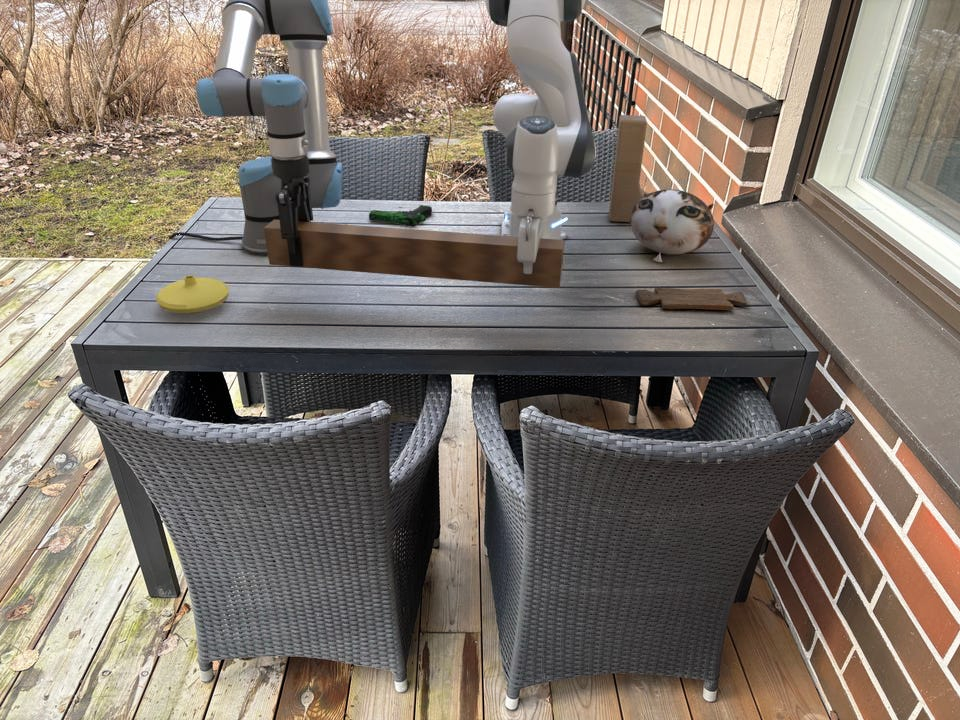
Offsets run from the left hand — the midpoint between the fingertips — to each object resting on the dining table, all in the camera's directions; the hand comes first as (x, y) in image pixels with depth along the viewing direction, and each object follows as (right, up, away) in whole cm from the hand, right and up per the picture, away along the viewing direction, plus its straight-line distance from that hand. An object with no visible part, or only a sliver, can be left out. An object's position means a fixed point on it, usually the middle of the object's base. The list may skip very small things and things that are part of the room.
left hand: (301, 260), depth 159 cm
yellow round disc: (-26, -10, +5) cm, 28 cm away
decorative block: (+87, +21, +60) cm, 107 cm away
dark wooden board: (+90, -9, +11) cm, 91 cm away
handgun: (+16, +21, +58) cm, 64 cm away
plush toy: (+91, +7, +37) cm, 98 cm away
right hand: (+50, -2, -8) cm, 51 cm away
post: (+25, -3, -3) cm, 26 cm away
